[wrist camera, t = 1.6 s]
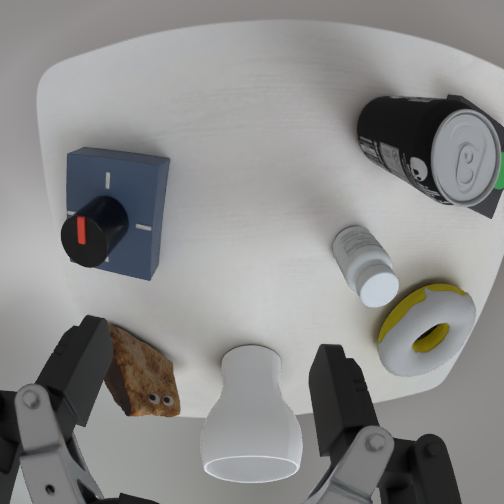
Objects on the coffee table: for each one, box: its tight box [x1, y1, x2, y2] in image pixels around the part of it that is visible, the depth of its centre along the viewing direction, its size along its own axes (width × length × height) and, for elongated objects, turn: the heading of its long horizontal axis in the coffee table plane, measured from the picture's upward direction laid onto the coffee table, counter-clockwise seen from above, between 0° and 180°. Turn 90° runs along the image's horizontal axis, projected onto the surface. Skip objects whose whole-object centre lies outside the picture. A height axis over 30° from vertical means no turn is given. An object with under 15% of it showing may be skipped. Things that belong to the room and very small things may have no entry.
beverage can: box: [357, 96, 501, 207], centre depth 18 cm, size 7×7×12 cm
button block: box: [448, 95, 504, 219], centre depth 22 cm, size 10×10×4 cm
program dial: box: [61, 196, 129, 268], centre depth 22 cm, size 4×4×5 cm
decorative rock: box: [104, 325, 180, 417], centre depth 31 cm, size 12×6×11 cm, turn 55°
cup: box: [200, 345, 303, 483], centre depth 30 cm, size 11×11×15 cm
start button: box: [494, 151, 504, 189], centre depth 19 cm, size 4×4×2 cm
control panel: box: [66, 147, 170, 281], centre depth 25 cm, size 11×9×3 cm
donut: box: [377, 284, 476, 377], centre depth 31 cm, size 14×14×5 cm
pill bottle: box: [333, 226, 399, 308], centre depth 25 cm, size 4×4×8 cm
